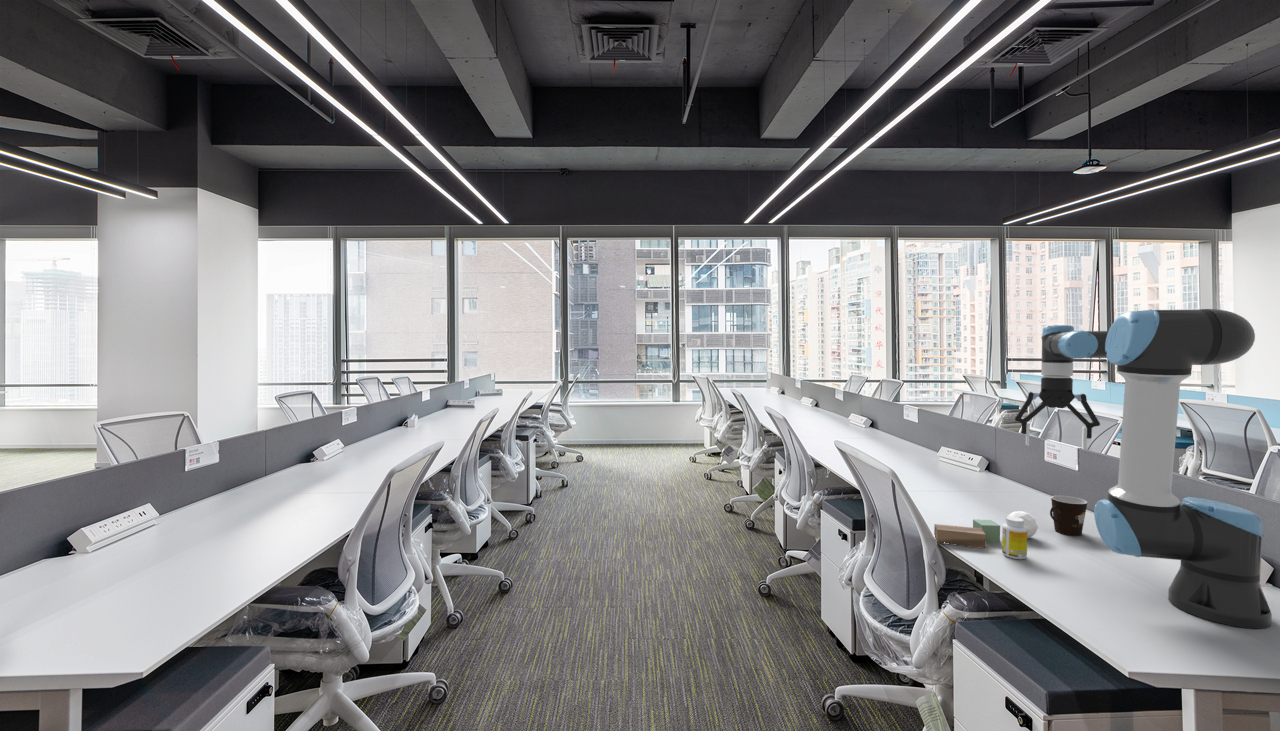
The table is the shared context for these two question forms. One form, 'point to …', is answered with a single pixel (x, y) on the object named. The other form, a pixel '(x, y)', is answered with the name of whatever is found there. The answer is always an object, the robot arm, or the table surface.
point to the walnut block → (960, 535)
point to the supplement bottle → (1014, 538)
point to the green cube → (988, 529)
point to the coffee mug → (1068, 514)
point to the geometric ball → (1026, 522)
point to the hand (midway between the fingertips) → (1055, 447)
